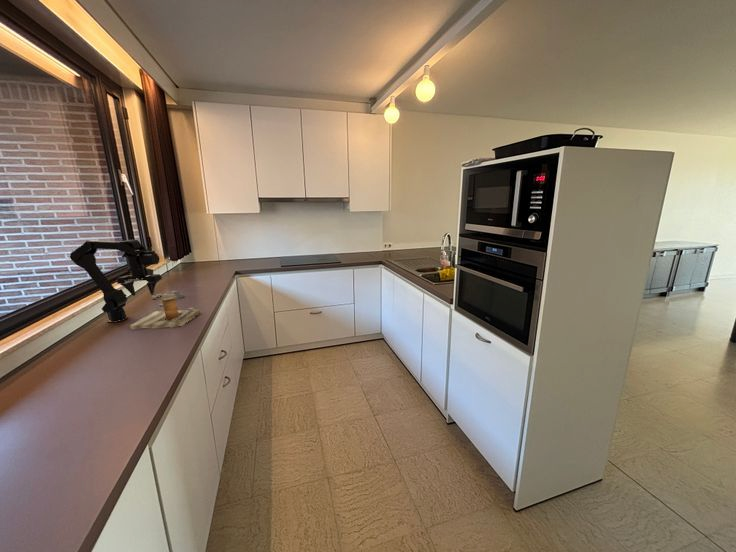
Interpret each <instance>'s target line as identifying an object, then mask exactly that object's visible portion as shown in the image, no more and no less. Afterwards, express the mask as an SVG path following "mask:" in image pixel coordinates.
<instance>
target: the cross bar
mask: <svg viewBox="0 0 736 552" xmlns="http://www.w3.org/2000/svg"><path fill="white" fill-rule="evenodd" d="M186 310H187V311H186V312H184V313H183V314H181V315H180V316H178V317H177V318H173V319H172V323H177V322H178V321H179V320H182V319H183V318H185V317H186V315H187V314H189V313H190V312H192V311H194V310H195V309H194V307H188V308H187V309H186Z"/></svg>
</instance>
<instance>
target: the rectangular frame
mask: <svg viewBox="0 0 736 552" xmlns="http://www.w3.org/2000/svg"><path fill="white" fill-rule="evenodd" d="M187 310H188V309H185V310H183V309H182V310H178V313H179V316H180V315H181V314H183V313H184V312H186V311H187ZM199 313H200V314H201V311H200V309H194V311H192V312H190V313H189V314H187V315H186V316H184V317H183V318H182V319H180V320H179V321H178V322H177V323H172V320H171V321H166V320H164V319H166V316H165V311H164V310H163V311H162V310H161V311H160V310H159V311H152V312H151V313H150V314H147V315H146V316H143V318H140V319H139V320H137V321H135V322H133V323H132V324H130V325H129V328H130V330H141V329H140V328H149V329H160V328H159V327H170V328H175V327H174V326H182V325H183V324H185V323H186V322H187V323H189V322H190V321H191V320H193V319H195V316H196V315H197V316H198V315H200V314H199ZM197 316H196V317H197ZM192 318H193V319H192ZM163 320H164V321H163ZM189 320H190V321H189ZM188 321H189V322H188ZM187 323H186V324H187ZM186 324H185V325H186ZM172 326H173V327H172ZM183 326H184V325H183ZM183 326H182V327H183ZM137 328H138V329H137Z"/></svg>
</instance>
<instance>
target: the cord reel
mask: <svg viewBox="0 0 736 552" xmlns="http://www.w3.org/2000/svg"><path fill="white" fill-rule="evenodd" d="M160 298H161V299H160V301H162V302H161V303H163V307H162V308H163V311H165V316H166V320H165V321H171V320H172V319H173V318H177V317H178V316H179V313H178V311H179V310H178V304H177V300H176V299H175V298H176V295H175V294H171V293H170V294H168V295H165V296H163V295H162V296H161V297H160Z"/></svg>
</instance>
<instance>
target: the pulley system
mask: <svg viewBox="0 0 736 552" xmlns="http://www.w3.org/2000/svg"><path fill="white" fill-rule="evenodd" d="M170 294H175V295H176V298H180V299H182V298H181V297H183V298H184V294H183V293H182V292H181V291H177V290H171V291H170ZM161 295H162V296H165V295H169V293H168V292H167V293H166V292H165V293H163V294H162V293H157V294H155V295H151V299H153V300H161V297H162V296H161ZM159 296H161V297H159ZM157 297H158V298H157ZM162 303H163V302H160V303H159V304H158V307H159V306H163V304H162Z"/></svg>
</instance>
